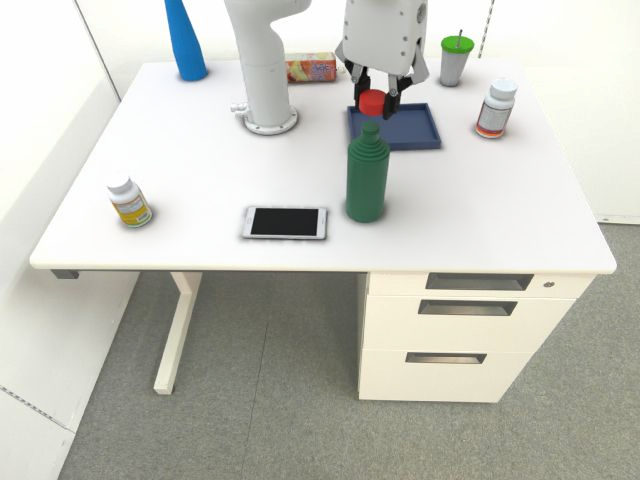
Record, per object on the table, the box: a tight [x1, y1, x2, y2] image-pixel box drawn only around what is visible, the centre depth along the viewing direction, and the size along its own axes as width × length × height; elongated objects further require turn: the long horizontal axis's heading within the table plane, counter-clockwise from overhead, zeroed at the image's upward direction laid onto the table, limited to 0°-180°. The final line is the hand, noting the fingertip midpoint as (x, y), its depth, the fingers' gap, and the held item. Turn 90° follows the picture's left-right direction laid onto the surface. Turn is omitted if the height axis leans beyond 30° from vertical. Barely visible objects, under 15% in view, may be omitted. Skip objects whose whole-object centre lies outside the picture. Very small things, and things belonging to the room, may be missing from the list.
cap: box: [359, 88, 387, 116], centre depth 58 cm, size 4×4×2 cm
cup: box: [439, 29, 476, 88], centre depth 100 cm, size 8×8×15 cm
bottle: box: [163, 0, 208, 82], centre depth 101 cm, size 7×7×30 cm
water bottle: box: [345, 121, 391, 224], centre depth 69 cm, size 7×7×18 cm
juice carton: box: [285, 51, 337, 83], centre depth 106 cm, size 21×7×7 cm, turn 91°
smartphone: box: [241, 206, 327, 240], centre depth 74 cm, size 8×1×15 cm
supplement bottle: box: [105, 171, 153, 228], centre depth 73 cm, size 5×5×10 cm
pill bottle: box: [475, 78, 519, 139], centre depth 87 cm, size 6×6×11 cm
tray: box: [346, 102, 442, 152], centre depth 92 cm, size 19×15×2 cm
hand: (375, 109), depth 59 cm, fingers closed on cap, 4 cm apart
